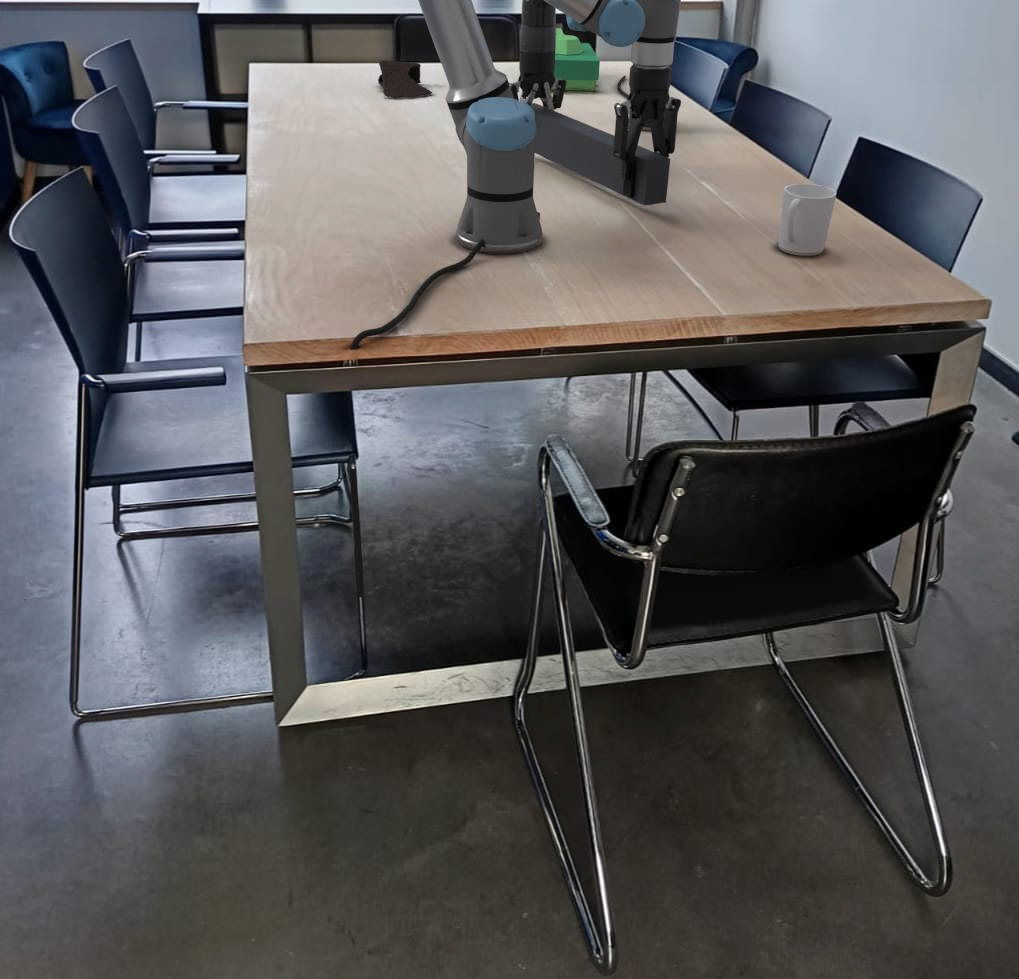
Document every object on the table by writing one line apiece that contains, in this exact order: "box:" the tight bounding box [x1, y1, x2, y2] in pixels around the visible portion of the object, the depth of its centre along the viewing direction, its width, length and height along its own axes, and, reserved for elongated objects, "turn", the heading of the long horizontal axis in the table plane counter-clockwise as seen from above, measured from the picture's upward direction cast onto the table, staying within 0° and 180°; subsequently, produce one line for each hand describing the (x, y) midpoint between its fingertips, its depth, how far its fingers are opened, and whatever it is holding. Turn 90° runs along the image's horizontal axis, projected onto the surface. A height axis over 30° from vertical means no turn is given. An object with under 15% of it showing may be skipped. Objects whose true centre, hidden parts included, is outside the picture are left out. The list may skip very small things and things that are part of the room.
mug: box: [777, 183, 837, 257], centre depth 191 cm, size 11×9×10 cm
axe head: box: [377, 59, 433, 99], centre depth 299 cm, size 18×8×15 cm
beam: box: [530, 102, 671, 206], centre depth 222 cm, size 50×5×8 cm, turn 29°
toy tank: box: [550, 27, 601, 91], centre depth 314 cm, size 18×12×35 cm
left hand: (640, 193), depth 209 cm, fingers closed on beam, 5 cm apart
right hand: (535, 130), depth 238 cm, fingers closed on beam, 5 cm apart
